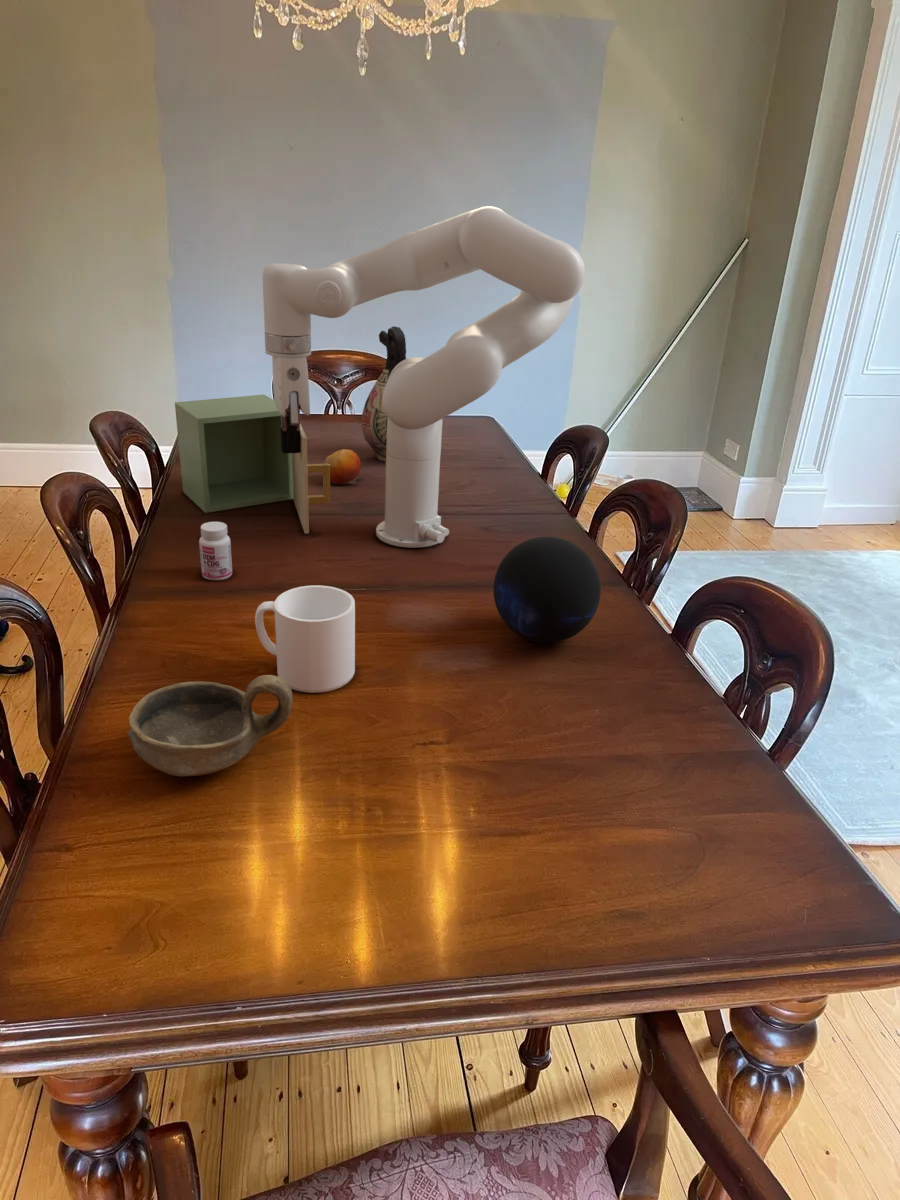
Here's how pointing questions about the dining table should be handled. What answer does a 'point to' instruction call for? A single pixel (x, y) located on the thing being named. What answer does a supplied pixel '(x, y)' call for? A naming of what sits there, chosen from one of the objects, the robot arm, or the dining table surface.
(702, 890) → the dining table surface
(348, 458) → the fruit
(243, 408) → the cupboard
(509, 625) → the decorative sphere
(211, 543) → the pill bottle
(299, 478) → the door
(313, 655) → the mug
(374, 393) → the ceramic jug
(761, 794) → the dining table surface
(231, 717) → the bowl
